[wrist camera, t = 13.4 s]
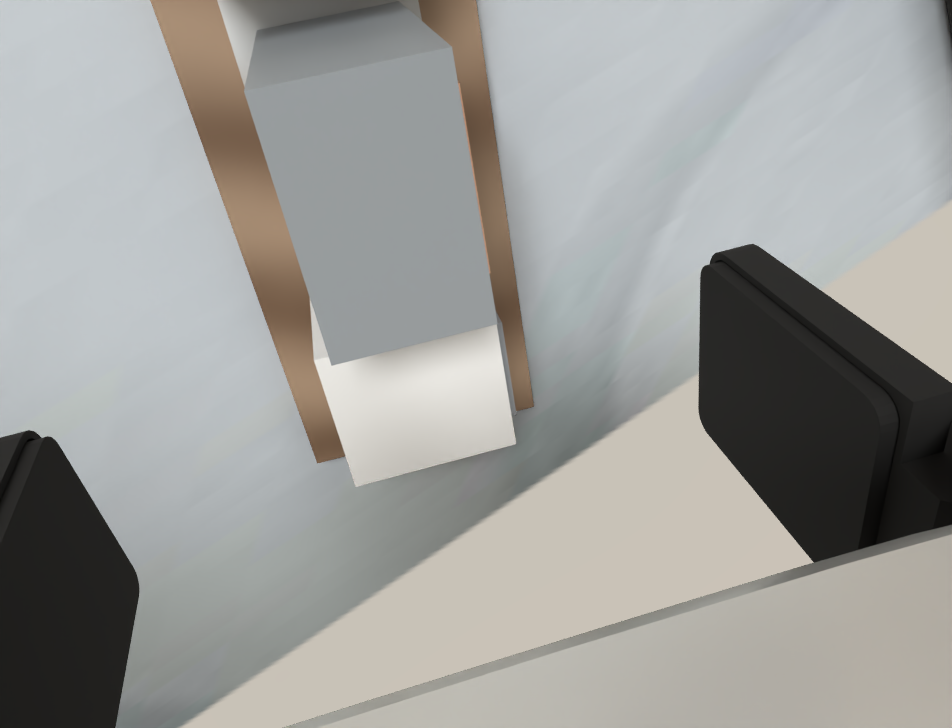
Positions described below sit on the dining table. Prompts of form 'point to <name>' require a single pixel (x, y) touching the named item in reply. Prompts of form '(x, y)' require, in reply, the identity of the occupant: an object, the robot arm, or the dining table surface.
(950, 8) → the black ridged block
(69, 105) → the dining table surface
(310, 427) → the rail board
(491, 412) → the block
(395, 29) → the block
